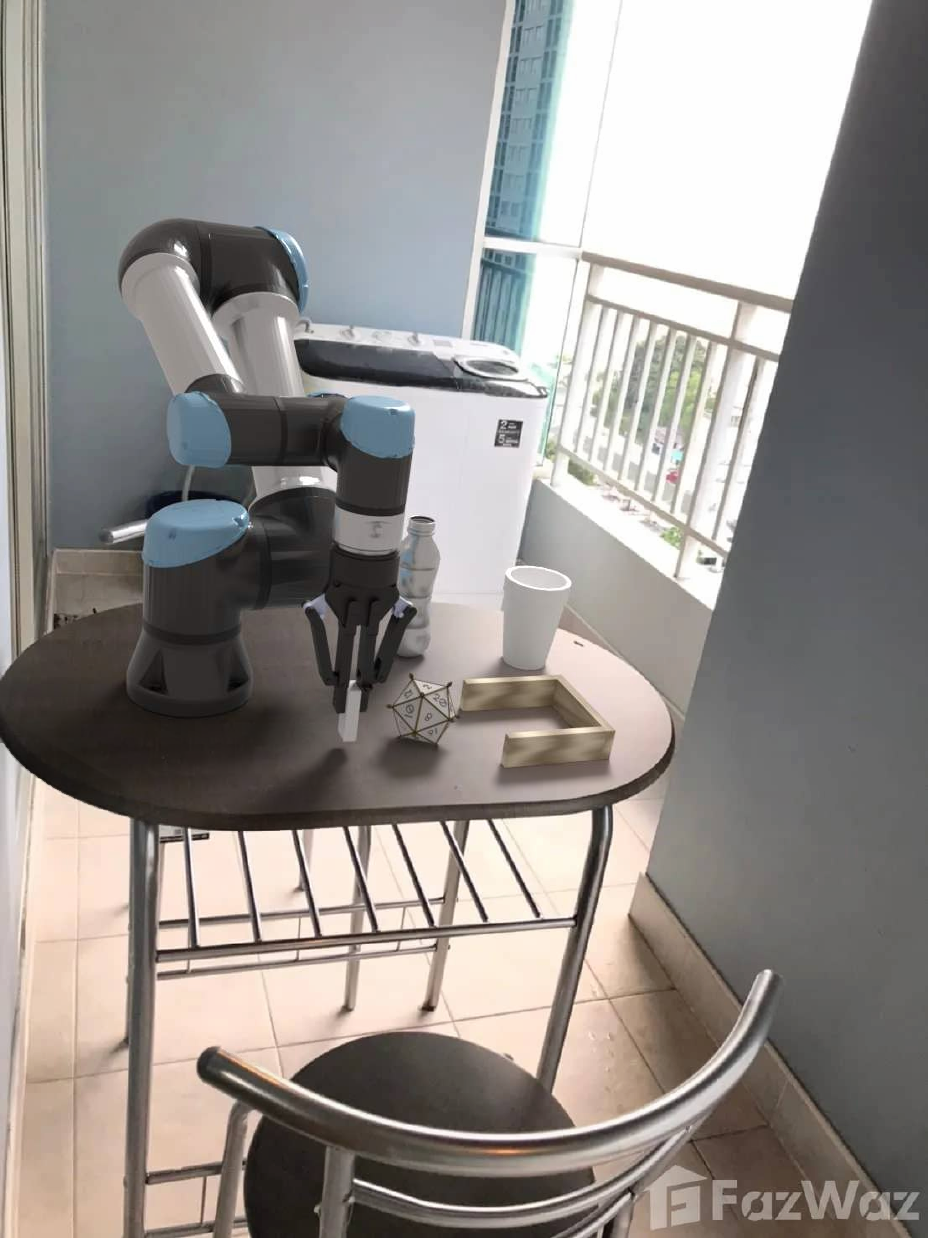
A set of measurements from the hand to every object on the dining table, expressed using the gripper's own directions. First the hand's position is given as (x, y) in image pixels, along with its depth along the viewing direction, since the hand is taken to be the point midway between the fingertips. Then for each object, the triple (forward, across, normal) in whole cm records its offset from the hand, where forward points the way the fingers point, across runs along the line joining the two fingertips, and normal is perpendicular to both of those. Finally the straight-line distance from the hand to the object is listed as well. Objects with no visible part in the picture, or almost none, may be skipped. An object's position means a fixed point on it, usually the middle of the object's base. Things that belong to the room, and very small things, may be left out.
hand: (346, 735), depth 117 cm
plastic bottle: (+2, +15, +24) cm, 29 cm away
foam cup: (+2, +32, +21) cm, 38 cm away
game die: (+2, +9, 0) cm, 9 cm away
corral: (+2, +24, +1) cm, 24 cm away
